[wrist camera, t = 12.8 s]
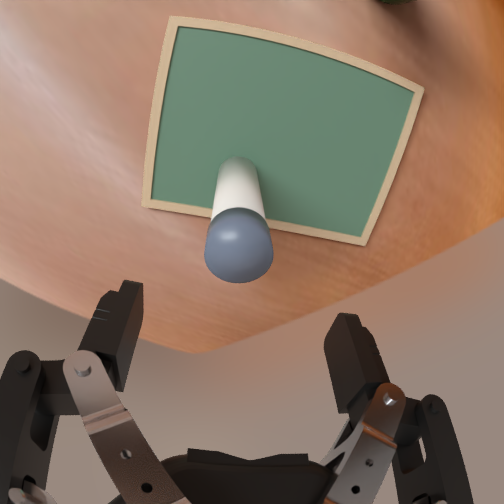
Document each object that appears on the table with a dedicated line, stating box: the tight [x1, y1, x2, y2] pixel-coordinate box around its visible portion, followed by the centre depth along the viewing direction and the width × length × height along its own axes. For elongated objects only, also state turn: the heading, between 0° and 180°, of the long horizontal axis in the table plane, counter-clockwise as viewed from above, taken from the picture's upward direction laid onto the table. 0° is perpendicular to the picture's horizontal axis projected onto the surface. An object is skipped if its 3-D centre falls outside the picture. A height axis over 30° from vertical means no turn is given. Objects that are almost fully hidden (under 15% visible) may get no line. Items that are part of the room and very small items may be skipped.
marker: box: [204, 156, 273, 283], centre depth 20 cm, size 3×3×12 cm
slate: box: [141, 16, 425, 246], centre depth 24 cm, size 22×17×1 cm
